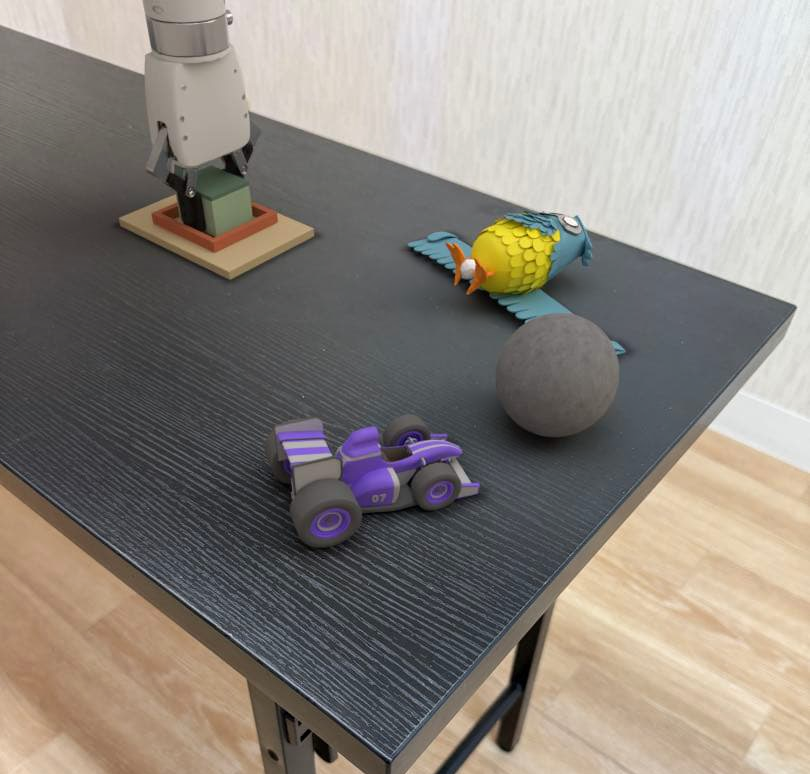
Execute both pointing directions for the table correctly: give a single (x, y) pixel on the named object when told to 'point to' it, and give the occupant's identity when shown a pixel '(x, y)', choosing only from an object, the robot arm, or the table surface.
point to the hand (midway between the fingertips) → (215, 216)
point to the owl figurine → (515, 259)
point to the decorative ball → (557, 375)
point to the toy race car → (362, 474)
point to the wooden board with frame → (219, 237)
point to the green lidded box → (222, 200)
